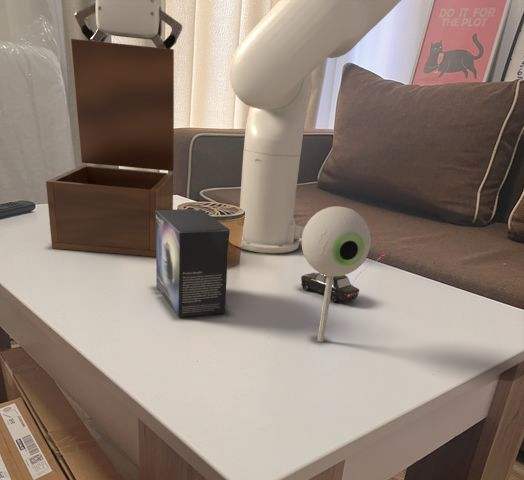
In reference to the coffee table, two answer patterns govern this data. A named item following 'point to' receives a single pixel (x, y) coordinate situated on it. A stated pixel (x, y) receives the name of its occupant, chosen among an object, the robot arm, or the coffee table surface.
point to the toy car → (339, 286)
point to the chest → (107, 209)
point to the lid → (125, 104)
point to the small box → (191, 261)
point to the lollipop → (335, 247)
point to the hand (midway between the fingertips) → (130, 76)
